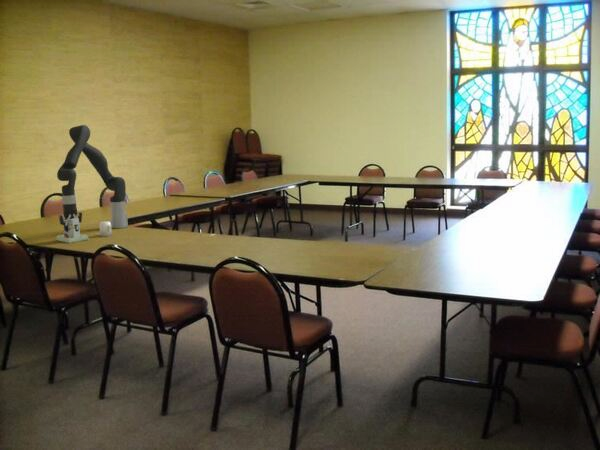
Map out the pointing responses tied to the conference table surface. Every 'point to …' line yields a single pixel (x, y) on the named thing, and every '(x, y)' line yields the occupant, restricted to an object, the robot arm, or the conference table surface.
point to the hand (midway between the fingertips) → (71, 230)
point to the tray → (72, 240)
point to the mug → (105, 228)
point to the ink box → (72, 228)
